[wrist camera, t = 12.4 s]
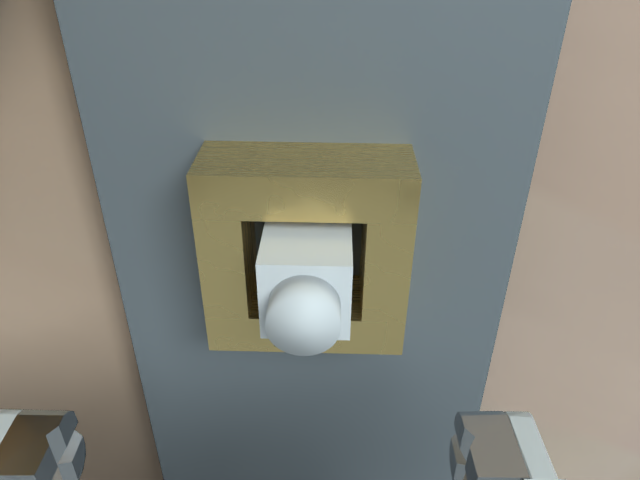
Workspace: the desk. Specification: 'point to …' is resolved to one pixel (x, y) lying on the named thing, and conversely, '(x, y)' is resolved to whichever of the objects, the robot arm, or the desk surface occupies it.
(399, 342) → the brass collar
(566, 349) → the desk surface
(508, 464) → the robot arm
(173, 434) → the jig board
